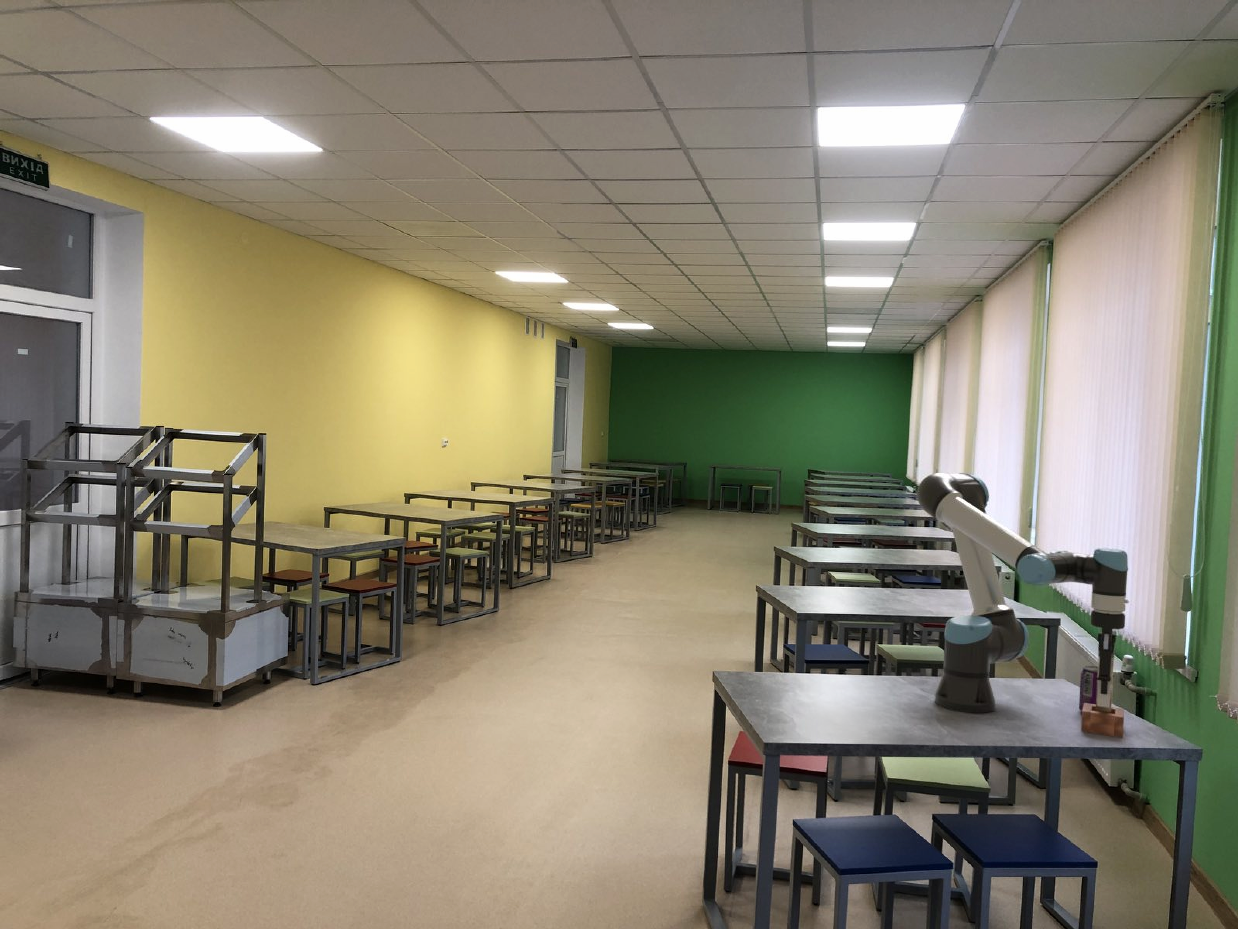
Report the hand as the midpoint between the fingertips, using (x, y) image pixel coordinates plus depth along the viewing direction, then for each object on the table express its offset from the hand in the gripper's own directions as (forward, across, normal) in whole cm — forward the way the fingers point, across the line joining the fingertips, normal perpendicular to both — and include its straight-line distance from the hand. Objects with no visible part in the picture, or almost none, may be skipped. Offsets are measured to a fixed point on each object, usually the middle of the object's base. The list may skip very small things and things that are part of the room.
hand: (1103, 704), depth 230 cm
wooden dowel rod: (+4, 0, 0) cm, 4 cm away
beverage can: (+7, +15, +3) cm, 17 cm away
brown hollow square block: (+6, 0, 0) cm, 6 cm away
